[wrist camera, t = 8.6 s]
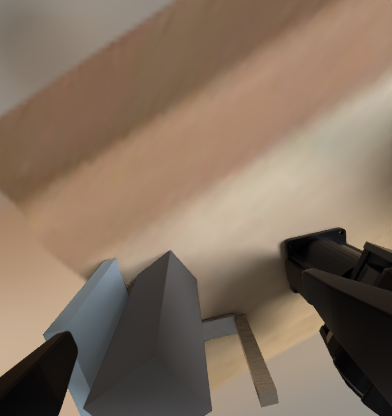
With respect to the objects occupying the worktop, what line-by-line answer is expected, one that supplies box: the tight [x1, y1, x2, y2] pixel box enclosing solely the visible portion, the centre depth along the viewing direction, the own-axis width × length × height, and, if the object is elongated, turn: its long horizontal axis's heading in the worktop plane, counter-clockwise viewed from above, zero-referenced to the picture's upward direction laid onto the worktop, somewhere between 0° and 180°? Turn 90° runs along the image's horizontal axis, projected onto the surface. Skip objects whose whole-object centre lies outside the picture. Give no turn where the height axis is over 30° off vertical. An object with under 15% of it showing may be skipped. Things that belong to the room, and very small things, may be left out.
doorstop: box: [83, 250, 212, 416], centre depth 16 cm, size 4×4×12 cm
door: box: [43, 258, 129, 416], centre depth 17 cm, size 10×3×9 cm, turn 12°
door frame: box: [202, 313, 278, 407], centre depth 18 cm, size 13×2×10 cm, turn 102°
